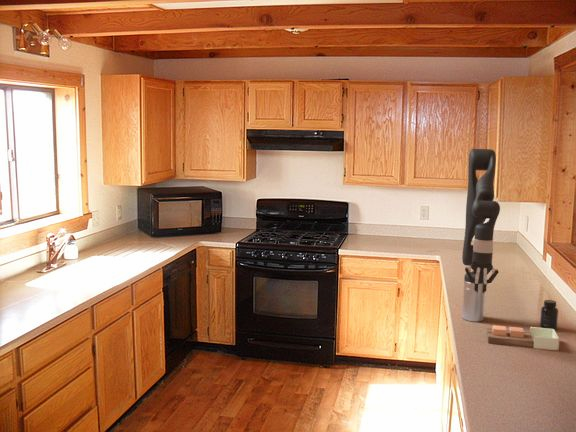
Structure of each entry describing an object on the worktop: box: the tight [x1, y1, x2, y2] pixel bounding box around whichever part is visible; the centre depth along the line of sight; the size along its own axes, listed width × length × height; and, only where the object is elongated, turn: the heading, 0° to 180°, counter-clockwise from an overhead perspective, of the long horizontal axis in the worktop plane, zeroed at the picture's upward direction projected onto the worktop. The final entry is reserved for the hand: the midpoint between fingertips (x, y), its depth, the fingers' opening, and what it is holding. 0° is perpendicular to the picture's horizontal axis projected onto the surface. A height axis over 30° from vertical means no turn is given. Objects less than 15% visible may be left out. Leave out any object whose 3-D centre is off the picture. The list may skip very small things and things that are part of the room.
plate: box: [485, 327, 534, 349], centre depth 250 cm, size 11×17×2 cm, turn 76°
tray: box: [529, 326, 560, 351], centre depth 247 cm, size 12×9×5 cm
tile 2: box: [508, 326, 525, 338], centre depth 249 cm, size 5×5×2 cm
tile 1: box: [491, 324, 507, 336], centre depth 250 cm, size 5×5×2 cm
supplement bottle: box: [539, 299, 559, 331], centre depth 265 cm, size 7×7×12 cm
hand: (479, 292), depth 250 cm, fingers closed
